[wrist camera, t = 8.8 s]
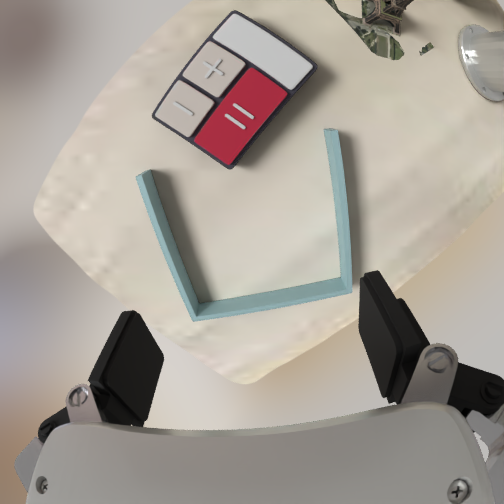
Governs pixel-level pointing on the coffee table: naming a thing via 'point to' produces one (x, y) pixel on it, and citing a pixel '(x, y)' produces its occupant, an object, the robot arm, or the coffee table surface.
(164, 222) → the teal u-shaped piece
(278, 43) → the calculator
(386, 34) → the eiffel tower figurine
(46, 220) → the coffee table surface
